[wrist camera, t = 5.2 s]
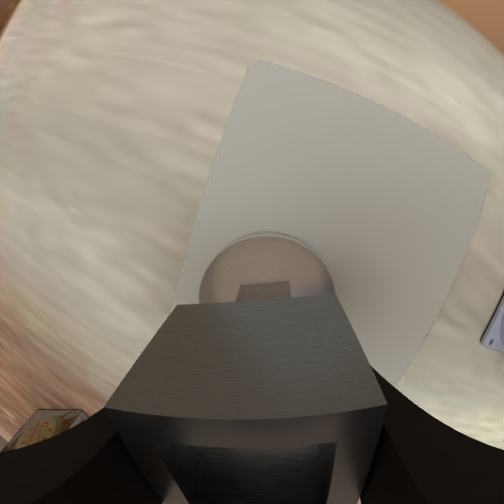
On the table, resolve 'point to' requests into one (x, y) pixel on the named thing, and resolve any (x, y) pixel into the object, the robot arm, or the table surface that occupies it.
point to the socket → (252, 404)
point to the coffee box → (45, 426)
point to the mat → (343, 203)
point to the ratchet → (265, 270)
